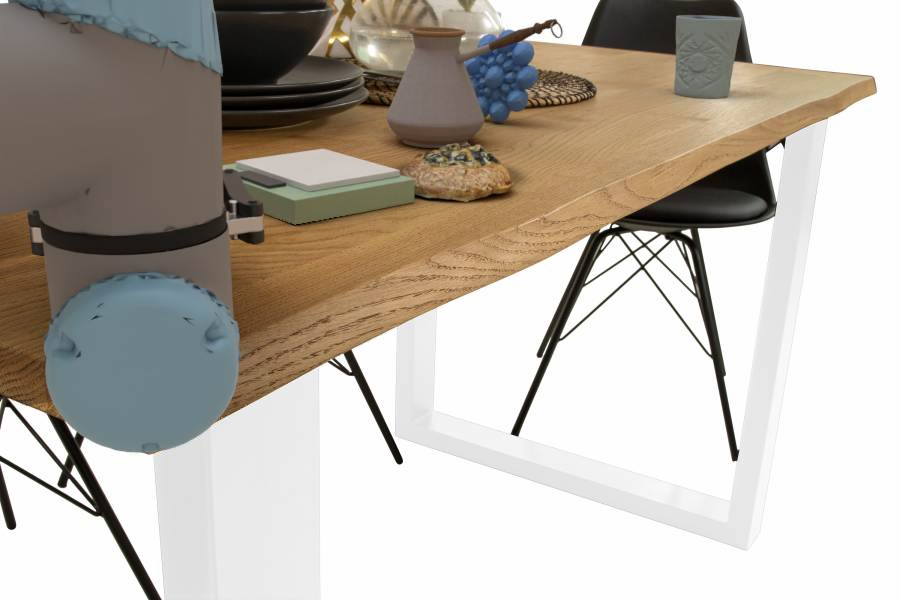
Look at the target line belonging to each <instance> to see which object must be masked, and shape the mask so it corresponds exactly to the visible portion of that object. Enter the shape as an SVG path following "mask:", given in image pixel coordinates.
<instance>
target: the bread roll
mask: <svg viewBox="0 0 900 600" xmlns="http://www.w3.org/2000/svg"><path fill="white" fill-rule="evenodd" d="M400 175H402V176H406V177H409V178H413V179H415V187H414V195H416V196H420V197H423V198H427V199H432V198H433V199H443V200H452V201H460V202H464V203H466V202H469V201H473V200H476V199H477V200H479V199H481V198H487V197H488V196H489V195H493V194H497V195H498V194H499V195H500V194H505V193H508V192H509V190H510V189H511V188H512V187H513V186H515V182H513V181H512V179H511V174H510V172H509V170H508V168H507V167H506V166H505V165H504V164H503V163H501V161H500V160H499V159H498V158H496V157H495V155H494V154H493V153H492V152H490V151H485V150H484V148H483V146H482V145H481V144H479V143H477V144H475V145H471V144H469V143H465V144H464V145H462V146H460V145H459V144H458V143H453V144H449V145H446V146H444V147H442V148H438V149H433V150H431V151H425V152H424V153H421V152H420V153H418V154H416V155H415V156H414V158H413V160H412V161H410V162H409V163H408V164H407V165H406V166H405V167H404V168H403V169H402V172H401V173H400Z"/></svg>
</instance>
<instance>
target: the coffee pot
mask: <svg viewBox="0 0 900 600" xmlns="http://www.w3.org/2000/svg"><path fill="white" fill-rule="evenodd" d="M556 25H558V27H559V29H560V35H559V36H558V35H557V34H556V33H555V32H554V30H553V27H555V26H556ZM546 29H547V30H549V29H550V33H551V34H552V35H553V36H554V37H555V38H556V39H561V38H562V37H563V34H564V32H563V31H564V30H563V27H562V25H561V23H559V22H558V20H557V18H553V19H547V20H545V21H544V22H542V23H539V22H535V23H534V24H533V26H529V27H526V28H525V27H524V28H520V29H517V30H514V31H515V32H512V33H510V34H508V35H506V36H504V37H502V38H500V39H497V40H495V41H493V42H491V43H489V44H488V45H485V46H482V47H479V48H478V47H477V48H473V49H470V50H468V51H466V52H463V53H461V51H460V46H461V43H462V37H463V36H464V35H466V30H465V29H460V28H453V27H432V26H431V27H430V26H429V27H413V28H409V30H408V33H409V34H411V35H412V40H413V44H414V49H413V52H412V54H411V56H410V59H409V61H408V63H407V66H406V67H405V70H404V72H403V75H402V77H401V80H400V82H399V85H398V87H397V90H396V92H395V94H394V97H393V99H392V101H391V103H390V106H389V108H388V111H387V113H386V121H387V123H388V126H389V128H390V129H391V131H392V132H393V133H394V134H395V135H396V136H397V137H400V138H401V139H402V143H404V144H405V145H409V146H412V147H417V148H427V149H428V148H429V149H440V148H442V147H444V146H446V145H449V144H453V143H458V144H459V145H460V146H462V145H464V144H465V143H468V140H470V139H472V138H474V137H475V136H476V135H477V134H478V133H479V131H480V130H481V129H482V127H483V125H484V123H485V117H484V115H483V113H482V110H481V107H480V105H479V102H478V99H477V97H476V94H475V91H474V88H473V86H472V83H471V80H470V78H469V77H470V75H468V72H467V70H466V67H465V64H464V63H465V61H467V60H470V59H472V58H475V57H477V56H479V55H482V54H484V53H486V52H489V51H493V50H496V49H499V48H502V47H505V46H508V45H512V44H515V43H521V42H524V41H525V40H526V39H528V38H529V37H532V36H533V35H535V34H537V35H541V34H542V33H543V31H544V30H546ZM468 144H469V143H468Z"/></svg>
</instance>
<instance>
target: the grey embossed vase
mask: <svg viewBox="0 0 900 600" xmlns="http://www.w3.org/2000/svg"><path fill="white" fill-rule="evenodd" d="M742 23H743V18H742V17H735V16H726V15H725V16H723V15H700V14H699V15H697V14H685V15H683V14H682V15H681V14H680V15H677V16H676V18H675V61H674V62H675V67H674V69H675V74H674V86H673V88H674V89H673V91H674V94H675V95H677V96H681V97H687V98H695V99H696V98H697V99H724V98H727V97H729V95H730V90H731V84H732V82H731V81H732V76H733V70H734V64H735V59H736V53H737V48H738V47H737V46H738V41H739V37H740V34H741V29H742Z"/></svg>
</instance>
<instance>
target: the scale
mask: <svg viewBox="0 0 900 600" xmlns="http://www.w3.org/2000/svg"><path fill="white" fill-rule="evenodd" d="M225 169H234V170H237V171H238V172H239V174H240V177H241V179H242V181H243V183H244V185H245V187H246V189H247V191H248V193H249V195H250V196H252V197H254V198H256V199H258V200H260V201H262V202H263V210H264V215H267V216H269V217H271V218H274V219H277V220H279V219H280V221H282V220H283V221H282V222H285V221H286V222H285V223H287V222H288V223H287V224H290V223H292V224H294V225H293V226H295V225H296V224H301V223H305V222H310V221H316V222H320V221H319V220H321V221H325V220H324V219H326V220H330V219H329V218H332V219H335V218H334V217H337V218H341V217H340V216H342V217H345V216H346V215H347V216H351V215H356V214H357V215H358V214H361V213H362V214H363V213H366V212H371V211H377V210H383V209H388V208H392V207H397V206H402V205H407V204H412V203H415V194H414V187H415V179H413V178H409V177H406V176H402V175H401V170H400V169H397V168H393V167H389V166H386V165H383V164H379V163H376V162H371V161H368V160H366V159H365V160H364V159H361V158H358V157H355V156H351V155H347V154H343V153H341V152H336V151H334V150H329V149H326V148H319V149H317V148H316V149H311V150H304V151H298V152H297V151H295V152H289V153H282V154H276V155H269V156H262V157H255V158H248V159H241V160H236V161H235V163H230V164H223V170H225ZM347 216H346V217H347ZM292 224H291V225H292ZM301 225H302V224H301ZM296 226H297V225H296Z"/></svg>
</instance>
